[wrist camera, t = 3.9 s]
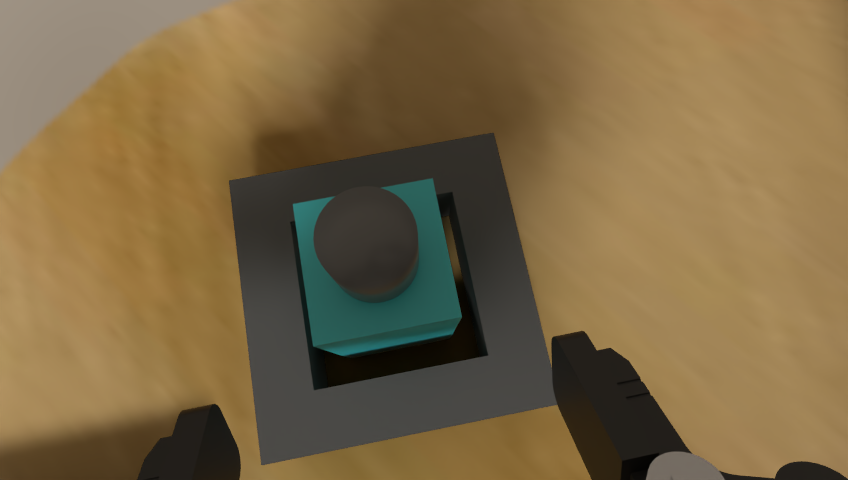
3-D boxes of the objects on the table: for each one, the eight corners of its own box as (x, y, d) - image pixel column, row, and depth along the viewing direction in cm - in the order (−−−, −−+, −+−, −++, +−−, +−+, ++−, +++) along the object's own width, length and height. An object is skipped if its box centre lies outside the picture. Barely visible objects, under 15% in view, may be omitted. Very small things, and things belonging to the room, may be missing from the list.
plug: (430, 242, 23) (433, 141, 13) (449, 338, 22) (469, 304, 12) (334, 261, 23) (268, 171, 13) (350, 358, 22) (291, 339, 12)
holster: (485, 162, 24) (493, 132, 21) (542, 400, 21) (560, 403, 18) (253, 205, 23) (229, 180, 20) (284, 453, 21) (261, 465, 18)
